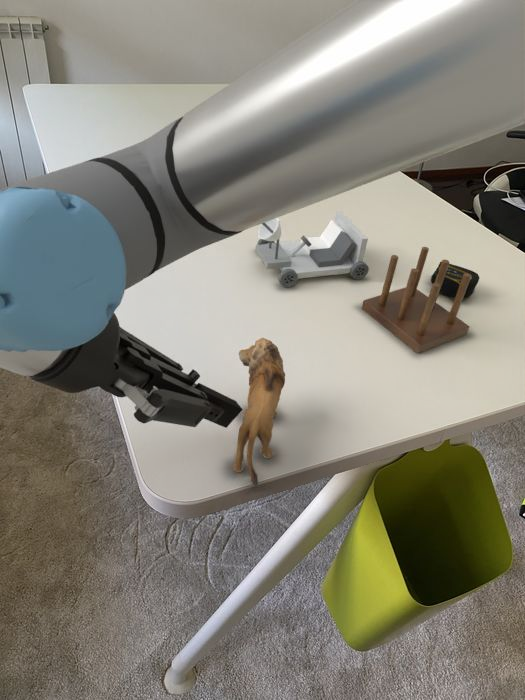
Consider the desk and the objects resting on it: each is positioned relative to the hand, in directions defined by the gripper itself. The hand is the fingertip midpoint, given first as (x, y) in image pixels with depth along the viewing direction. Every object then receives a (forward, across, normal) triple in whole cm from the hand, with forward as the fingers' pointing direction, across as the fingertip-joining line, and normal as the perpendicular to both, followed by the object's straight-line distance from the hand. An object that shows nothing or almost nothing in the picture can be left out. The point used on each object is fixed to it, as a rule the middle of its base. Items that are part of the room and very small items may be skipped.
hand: (231, 414), depth 59 cm
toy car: (+23, -27, +18) cm, 40 cm away
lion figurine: (+4, +1, 0) cm, 4 cm away
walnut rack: (+27, -7, +23) cm, 36 cm away
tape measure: (+36, -11, +31) cm, 48 cm away
